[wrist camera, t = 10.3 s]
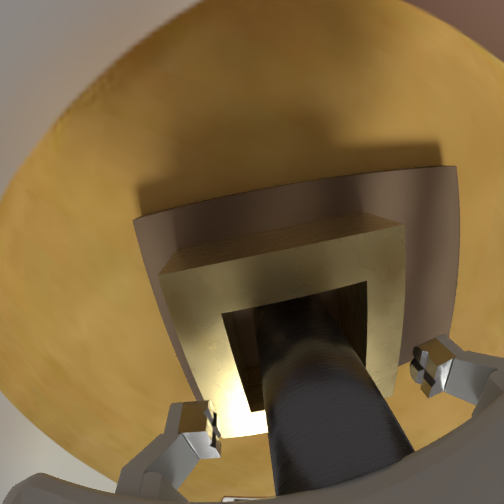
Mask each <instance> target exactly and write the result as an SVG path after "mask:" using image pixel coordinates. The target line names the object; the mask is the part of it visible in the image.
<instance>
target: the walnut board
mask: <svg viewBox="0 0 504 504" xmlns="http://www.w3.org/2000/svg"><path fill="white" fill-rule="evenodd" d="M360 212H366V213H369V214H372V215H376V216H379V217H382V218H386V219H389V220H392V221H395V222H398V223H401V224H404V225H405V253H406V274H405V302H404V317H403V329H402V338H401V347H400V355H399V362H398V366H400V365H403V364H405V363H407V362H410V361H412V360H413V358H414V356H413V355H412V352H413V349H414V347H415V346H417V345H419V344H422V343H424V342H426V341H428V340H430V339H433V338H435V337H437V336H439V335H441V334H444V335H446V336H447V337H448V338H449V333H450V328H451V322H452V316H453V310H454V303H455V296H456V288H457V278H458V266H459V248H460V206H459V189H458V177H457V167H456V166H430V167H417V168H406V169H395V170H386V171H376V172H368V173H360V174H352V175H344V176H337V177H330V178H323V179H317V180H310V181H304V182H298V183H292V184H286V185H280V186H275V187H269V188H264V189H258V190H253V191H248V192H243V193H238V194H233V195H228V196H224V197H219V198H214V199H210V200H205V201H201V202H196V203H192V204H188V205H183V206H179V207H175V208H171V209H167V210H163V211H159V212H155V213H151V214H147V215H144V216H141V217H138V218H136V219H134V220H133V224H134V228H135V232H136V236H137V239H138V243H139V247H140V250H141V254H142V257H143V261H144V264H145V267H146V271H147V274H148V277H149V280H150V284H151V287H152V290H153V293H154V296H155V299H156V302H157V305H158V307H159V310H160V313H161V316H162V319H163V321H164V324H165V327H166V329H167V332H168V335H169V337H170V340H171V342H172V345H173V347H174V350H175V352H176V355H177V357H178V360H179V362H180V364H181V367H182V369H183V372H184V374H185V376H186V378H187V381H188V383H189V385H190V387H191V389H192V392H193V394H194V396H195V398H196V400H197V401H204V399H203V397H202V394H201V392H200V390H199V388H198V385H197V383H196V381H195V378H194V376H193V373H192V371H191V369H190V366H189V364H188V361H187V359H186V356H185V354H184V351H183V349H182V346H181V343H180V341H179V338H178V335H177V333H176V330H175V327H174V325H173V322H172V319H171V316H170V313H169V310H168V307H167V304H166V301H165V298H164V295H163V292H162V289H161V286H160V283H159V280H158V276H157V275H158V274H159V273H160V271H161V270H162V269H163V267H164V266H165V264H166V263H167V262H168V260H169V259H170V258H171V257H172V255H173V254H174V253H175V251H176V250H177V249H179V248H184V247H189V246H193V245H198V244H203V243H207V242H212V241H217V240H222V239H226V238H231V237H236V236H241V235H246V234H251V233H256V232H260V231H265V230H270V229H275V228H281V227H286V226H291V225H296V224H301V223H306V222H311V221H317V220H322V219H327V218H332V217H338V216H343V215H349V214H354V213H360ZM317 294H318V295H319V296H320V298H321V299H322V301H323V302H324V304H325V305H326V307H327V308H328V310H329V311H330V313H331V314H332V316H333V318H334V319H335V321H336V322H337V324H338V325H339V306H338V292H337V288H336V289H332V290H328V291H324V292H320V293H317ZM254 311H255V307H252V308H247V309H242V310H237V311H232V313H233V317H234V321H235V324H236V328H237V332H238V336H239V340H240V343H241V347H242V351H243V355H244V358H245V362H246V366H250V365H255V364H259V358H258V350H257V341H256V333H255V325H254ZM339 327H340V325H339Z"/></svg>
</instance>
